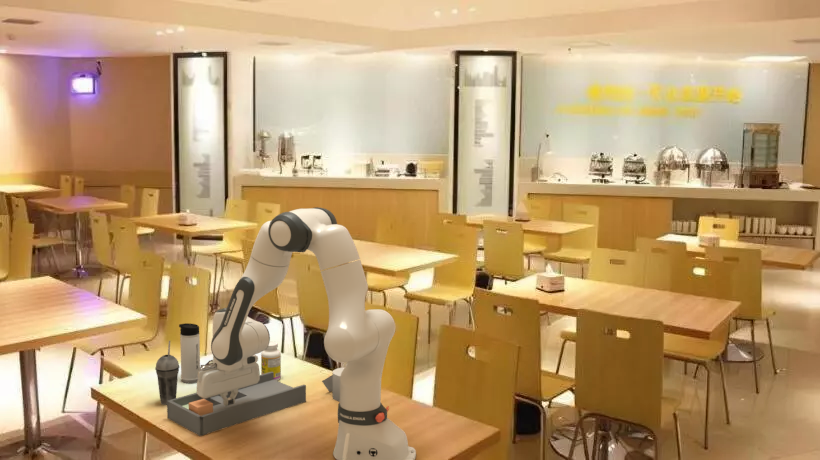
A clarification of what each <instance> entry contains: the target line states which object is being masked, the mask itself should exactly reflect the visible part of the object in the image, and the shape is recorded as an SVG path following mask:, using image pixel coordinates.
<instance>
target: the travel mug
mask: <svg viewBox="0 0 820 460" xmlns="http://www.w3.org/2000/svg"><path fill="white" fill-rule="evenodd" d="M178 327H179V328H180V332H179V333H180V334H179V335H180V336H179V337H180V375H181V376H180V377H181V378H180V379H181V382H182V383H183V384H195V383H196V384H197V381H198V371H199V370H200V367H201V352H200V351H201V350H200V347H201V346H200V344H201V343H200V342H201V341H200V337H201V336H200V326H199V325H198V324H195V323H188V322H187V323H180V324H178Z"/></svg>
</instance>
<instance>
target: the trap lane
mask: <svg viewBox="0 0 820 460" xmlns="http://www.w3.org/2000/svg"><path fill="white" fill-rule="evenodd" d="M230 395H231V391H229V392H228V395H226V397H227V398H229V397H230ZM201 399H205V400H207V401H209V402H211V403H213V412H212V413H209V414H205V415H202V416H200V415H198V414H196V413H194V412H192V411H191V410H189V403H190V402H194V401H197V400H201ZM306 401H307V386H306V384H301V385H297V386H294V387H293V386H291V385H287V384H285V383H283V382H280V381H279V380H278V381H276V380H274V372H269V373H265V374H262V375H261V374H260V379H259V381H258V383H257V384H254V385H250V386H247V387H243V388H240V389H238V393H237V395H236V397H235V403H234V404H231V405H228V406H225V405H224V404H223V399H222V397H221V396H220V394H219V395H216V396H212V397H209V398H202V397H200V396H198V394H197V392H193V393H190V394H186V395H183V396H180V397H176V398H175V399H172V400H168V401H167V405H166V412H167V413H166V414H167V419H168V420H170V421H171V422H173V423H175V424H177V425H179V426H180V427H183V428H184V429H186V430H188V431H190V432H192V433H194V434H195V435H197V436H199V437H202V436H205V435H208V434H211V433H213V432H217V431H221V430H224V429H226V428H230V427H233V426H236V425H239V424H242V423H245V422H248V421H251V420H255V419H256V418H260V417H263V416H267V415H269V414H272V413H277V412H279V411H281V410H284V409H288V408H291V407H294V406H298V405H300V404H303V403H306Z"/></svg>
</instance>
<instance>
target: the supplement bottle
mask: <svg viewBox="0 0 820 460" xmlns="http://www.w3.org/2000/svg"><path fill="white" fill-rule="evenodd" d="M278 345H279V344H278V342H276V341H270V342H269V345H268V347H267V349H266V350H264V351H262V352H260V353H261V354H260V355H261V358H260V359H261V362H260V365H261V366H260V373H261V374H260V375H262V374H265V373H269V372H274V380H276V381H278V382H279V380H280V379H281V378H282V377H281V375H282V373H281V371H282V370H281V369H282V368H281V366H282V365H281V363H282V361H281V357H282V356H281V355H282V354H281V351H280V350H279V349H278V347H279V346H278Z"/></svg>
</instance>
